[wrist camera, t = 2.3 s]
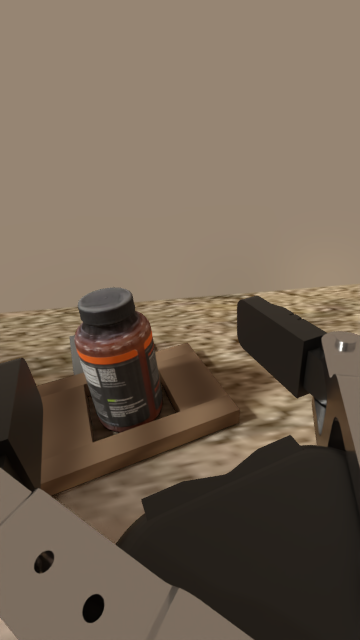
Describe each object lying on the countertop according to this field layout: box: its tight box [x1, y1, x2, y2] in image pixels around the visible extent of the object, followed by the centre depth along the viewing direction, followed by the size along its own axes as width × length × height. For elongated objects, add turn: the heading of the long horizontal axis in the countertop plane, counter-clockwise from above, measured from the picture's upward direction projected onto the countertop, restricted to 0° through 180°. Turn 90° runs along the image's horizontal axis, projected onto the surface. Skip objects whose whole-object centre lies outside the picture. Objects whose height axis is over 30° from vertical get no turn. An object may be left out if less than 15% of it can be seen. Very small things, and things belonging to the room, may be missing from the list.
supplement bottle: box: [74, 288, 163, 432], centre depth 24 cm, size 6×6×11 cm
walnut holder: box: [37, 343, 240, 496], centre depth 27 cm, size 16×11×2 cm
